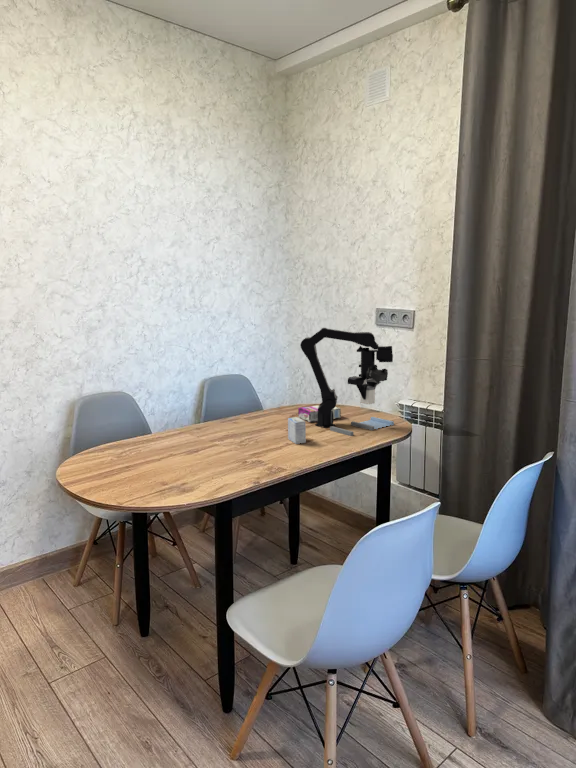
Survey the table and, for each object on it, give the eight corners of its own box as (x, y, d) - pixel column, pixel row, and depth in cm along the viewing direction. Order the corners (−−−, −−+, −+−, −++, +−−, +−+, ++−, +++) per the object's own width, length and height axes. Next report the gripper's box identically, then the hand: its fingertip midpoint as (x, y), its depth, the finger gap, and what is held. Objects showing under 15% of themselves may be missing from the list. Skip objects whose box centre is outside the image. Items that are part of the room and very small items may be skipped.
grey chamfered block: (369, 404, 223) (369, 388, 222) (360, 402, 227) (360, 386, 225) (374, 403, 225) (374, 387, 224) (366, 401, 229) (366, 385, 228)
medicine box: (306, 443, 204) (306, 421, 202) (295, 444, 202) (295, 422, 201) (298, 438, 211) (298, 416, 210) (287, 439, 209) (287, 417, 208)
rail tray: (350, 436, 213) (350, 432, 213) (329, 430, 222) (329, 426, 222) (393, 424, 230) (393, 421, 230) (372, 419, 239) (372, 416, 239)
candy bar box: (309, 423, 235) (341, 418, 242) (309, 412, 234) (341, 407, 241) (297, 418, 245) (328, 413, 252) (297, 407, 244) (328, 403, 251)
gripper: (366, 366, 211) (366, 404, 214) (397, 361, 222) (396, 398, 225) (346, 363, 220) (346, 400, 222) (377, 359, 231) (377, 394, 234)
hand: (367, 398), depth 225 cm, fingers closed on grey chamfered block, 3 cm apart
